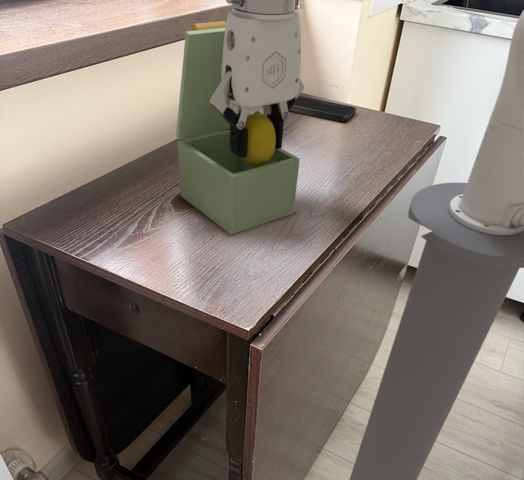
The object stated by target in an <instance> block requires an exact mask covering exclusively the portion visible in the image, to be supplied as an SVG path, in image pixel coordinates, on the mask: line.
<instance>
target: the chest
mask: <svg viewBox="0 0 524 480" xmlns="http://www.w3.org/2000/svg"><path fill="white" fill-rule="evenodd" d="M177 154H178V155H177V156H178V172H179V173H178V175H179V190H180V197H181V198H182V199H184V200H185V201H186V202H187V203H189V204H190V205H192V206H193V207H194V208H196V210H198V211H199V212H201V213H202V214H204V215H205V216H206V217H207V218H209V219H210V220H211V221H212V222H214V223H215V224H217V226H219V227H220V228H222V229H223V230H224V231H225V232H227V233H228V234H229V235H234V234H237V233H240V232H244V231H247V230H248V229H252V228H256V227H258V226H261V225H264V224H267V223H270V222H272V221H276V220H278V219H282V218H284V217H287V216H290V215H294V213H295V204H296V196H297V195H296V194H297V187H298V186H297V185H298V177H299V169H300V168H299V167H300V158H299V157H297V156H296V155H294V154H292V153H291V152H289V151H287V150H285V149H283V148H280V149H276V148H275V150H274V153H273V155H272V157H271V158H270V160H269V161H268V162H266V163H265V164H263V165H260V166H259V167H257V168H253V167H252V166H251V165H249V164H247V163H246V162H245V161H244V160H243V159H242V158H241V157H239V156H238V155H236V154H235V153H233V152H232V151H231V149H230V129H226V130H222V131H217V132H213V133H208V134H203V135H199V136H194V137H190V138H185V139H181V140H178V141H177Z"/></svg>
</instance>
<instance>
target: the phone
mask: <svg viewBox="0 0 524 480" xmlns="http://www.w3.org/2000/svg"><path fill="white" fill-rule="evenodd" d="M356 111H357V107H355V106H351V105H347V104H342V103H337V102H332V101H327V100H323V99H318V98H313V97H309V96H305V95H299V96H298V98H297V99H295V103H294V105H293V106H292V107H291V109H290V110H289V112H294V113H299V114H304V115H308V116H312V117H317V118H320V119H321V118H322V119H326V120H330V121H331V120H332V121H334V122H341V123H347V122H348V121H350V120H351V119H352V118H353V117H354V116H355V115H356V113H357V112H356Z"/></svg>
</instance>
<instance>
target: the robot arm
mask: <svg viewBox="0 0 524 480" xmlns="http://www.w3.org/2000/svg"><path fill="white" fill-rule="evenodd" d="M225 1H226V4H229V5H230V4H231V11H229V12H228V14H227V17H226V29H225V36H224V44H223V55H222V75H221V82H220V84H219V85H218V87H217V89H216V90H215V92H214V94H213V95H212V97H211V98H210V104H211V105H212V106H213V107H214V108H215V109H216V110H217V111H218V112H219V113H220V114H221V115H222V116H223V117H224V118H225V119H226V121H227V123H229V124H230V129H229V130H230V149H231V151H232V152H233V153H235V154H236V155H238V156H239V157H241V158H245V157H246V156H247V148H248V129H247V128H245V127H244V126H245V123H246V119H247V116H248V113H249V109H250V108H255V107H260V106H263V107H265V106H268V108H269V113H267V114H266V117H268V118H269V120H270V121H271V122H272V124H273V126H274V130H275V136H276V145H275V148H276V149H280V148H281V149H283V148H282V147H283V136H284V125H285V120H287V119H288V118H289V115H290V113H289V112H290V111H289V110H290V109H291V107H292V106H293V105H294V103H295V99H297V98H298V96H301V94H302V93H303V91H304V89H305V85H304V83H303V81H302V80H301V63H302V34H301V22H300V14H299V13H298V12H296V11H295V5H296V0H225ZM509 46H510V47H509V49H508V56H507V61H506V62H507V63H506V66H505V71H504V74H503V79H502V82H501V85H500V89H499V92H498V95H497V97H496V101H495V103H494V106H493V110H492V112H491V115H490V116H489V120H488V122H487V126H486V128H485V131H484V134H483V137H482V139H481V142H480V145H479V148H478V151H477V154H476V156H475V159H474V162H473V166H472V168H471V170H470V174H469V175H468V176H469V177H468V179H467V182H466V183H467V185H466V188H465V191H464V193H463V194H462V195H458V196H456V197H454V198H453V199H452V200H451V202H450V205H449V208H448V209H449V213H450V215H451V216H452V217H453V218H454V219H455V220H456V221H457V222H458V223H460V224H462V225H463V226H465V227H467V228H469V229H472V230H475V231H478V232H481V233H485V234H490V235H499V236H508V235H514V234H518V233H520V232H522V231H524V9H523V10H522V12H521V14H519V17H518V20H517V21H516V24H515V26H514V29H513V32H512V36H511V40H510V44H509ZM226 99H231V102H230V105H229V106H228V105H227V104H226ZM239 107H240V109H239V113H238V115H237V112H238V108H239Z"/></svg>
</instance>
